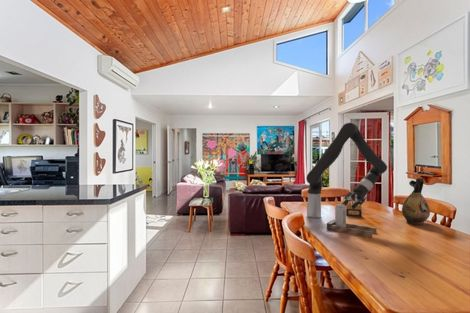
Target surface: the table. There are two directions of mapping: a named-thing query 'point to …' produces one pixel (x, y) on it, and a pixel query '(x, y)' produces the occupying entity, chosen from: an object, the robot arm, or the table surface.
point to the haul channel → (352, 229)
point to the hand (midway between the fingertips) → (347, 206)
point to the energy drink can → (340, 215)
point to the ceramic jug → (416, 204)
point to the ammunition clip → (353, 210)
